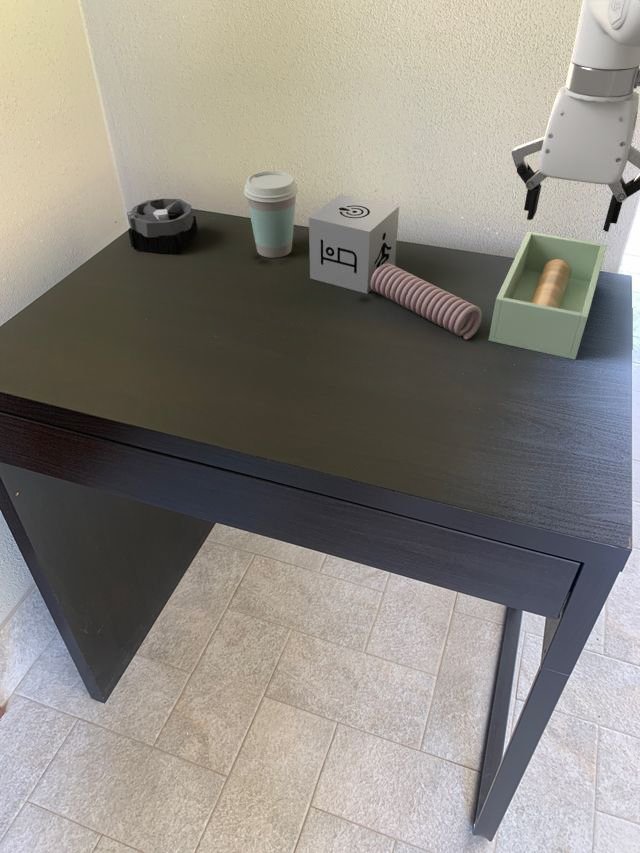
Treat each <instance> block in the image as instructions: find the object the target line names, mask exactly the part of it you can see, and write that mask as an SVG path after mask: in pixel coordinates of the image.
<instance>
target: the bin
mask: <svg viewBox="0 0 640 853" xmlns="http://www.w3.org/2000/svg"><path fill="white" fill-rule="evenodd" d="M607 245H608V244H606V243H599V242H595V241H594V242H593V241H587V240H582V239H577V238H576V239H575V238H570V237H563V236H557V235H552V234H546V233H542V232H541V233H540V232H534V231H530V230H529V231H526V233H525V236H524V237H523V240H522V242H521V245H520V246H519V249H518V251H517V253H516V255H515V257H514V259H513V261H512V264H511V265H510V268H509V270H508V273H507V275H506V277H505V279H504V281H503V283H502V285H501V287H500V290H499V292H498V294H497V296H496V298H495V302H494V309H493V313H492V318H491V319H492V320H491V323H490V330H489V335H488V341H490V342H493V343H498V344H502V345H507V346H511V347H514V348H515V347H516V348H521V349H525V350H528V351H534V352H538V353H543V354H548V355H551V356H556V357H560V358H565V359H570V360H574V361H575V360H576V359H577V356H578V352H579V348H580V346H581V342H582V339H583V335H584V332H585V328H586V324H587V321H588V318H589V314H590V310H591V307H592V303H593V298H594V296H595V292H596V287H597V284H598V280H599V276H600V273H601V268H602V265H603V261H604V258H605V253H606V251H607V250H606V249H607ZM555 259H560V260H563V261H565V262H567V263H568V264H569V266H570V268H571V275H570V278H569V281H568V284H567V287H566V290H565V293H564V296H563V300H562V303H561V306H560V309H559V308H554V307H549V306H544V305H539V304H534V303H530V302H531V300H532V297H533V295H534V292H535V290H536V287H537V285H538V282H539V279H540V277H541V274H542V272H543V269H544V267H545V265H546V264H547V263H548V262H549V261H551V260H555Z"/></svg>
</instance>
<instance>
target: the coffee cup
mask: <svg viewBox="0 0 640 853" xmlns="http://www.w3.org/2000/svg"><path fill="white" fill-rule="evenodd" d="M298 192H299V188H298V184H297V183H296V180H295V177H294V176H293V175H292V174H291V173H289V172H286V171H283V170H275V169H274V170H273V169H272V170H271V169H269V170H261V171H256V172H254V173H251V174H250V175H248V176H247V178H246V181H245V185H244V188H243V195H244V196H245V197H246V200H247V206H248V207H247V208H248V211H249V216H250V221H251V226H252V233H253V238H254V242H255V248H256V251H257V254H259V255H260V256H262V257H264V258H271V259H275V258H277V259H278V258H283V257H285V256H288V255H289V254H291V252H292V249H293V239H294V226H295V215H296V214H295V212H296V201H297V200H296V199H297V194H298Z"/></svg>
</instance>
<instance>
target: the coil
mask: <svg viewBox="0 0 640 853" xmlns="http://www.w3.org/2000/svg"><path fill="white" fill-rule="evenodd" d="M378 275H379V276H378ZM384 276H385V277H384ZM377 277H378V278H377ZM371 288H372V290H371V291H373V292H374V293H377V294H379V295H381V296H383V297H384V298H387V299H388V300H389V301H390V300H391V301H392V302H393V303H397V305H399V306H402V308H406V309H407V310H408V311H411V312H413V313H414V314H417V315H418V316H421V317H423V319H426V320H428V321H429V322H433V323H434V324H435V325H438V326H439V327H441V328H443V329H444V330H446V331H449V332H450V333H452V334H455V335H456V336H457V337H462V336H463V337H462V338H463V339H464V340H468V339H471V338H473V336H474V335H475V334H476V333H477V332H478V330H479V327H480V325H481V322H482V318H483V313H482V310H481V308H480V307H479V306H478V305H474V304H473V303H471V302H468V301H467V300H465V299H462V298H461V297H459V296H456V295H455V294H452V293H451V292H448V291H446V290H444V289H443V288H440V287H438V286H436V285H434V284H432V283H430V282H428V281H426V280H424V279H422V278H419V277H418V276H416V275H414V274H412V273H411V272H410V273H409V272H408V271H406V270H404V269H402V268H399V267H398V266H396V265H395V266H393V265H392V264H389V263H386V264H383V265H381V266H379V267H378V268H377V269H376V270H375V272H374V274H373V276H372V278H371Z"/></svg>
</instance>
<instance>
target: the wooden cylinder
mask: <svg viewBox="0 0 640 853" xmlns="http://www.w3.org/2000/svg"><path fill="white" fill-rule="evenodd" d="M570 275H571V268H570V266H569V264H568V263H567V262H565V261H563V260H560V259H555V260H551V261H549V262H548V263H547V264H546V265H545V267H544V269H543V272H542V274H541V277H540V279H539V282H538V285H537V287H536V290H535V292H534V295H533V297H532V300H531V302H530V303H534V304H539V305H544V306H549V307H554V308H559V309H560V306H561V303H562V300H563V296H564V293H565V290H566V287H567V284H568V281H569V278H570Z"/></svg>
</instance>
